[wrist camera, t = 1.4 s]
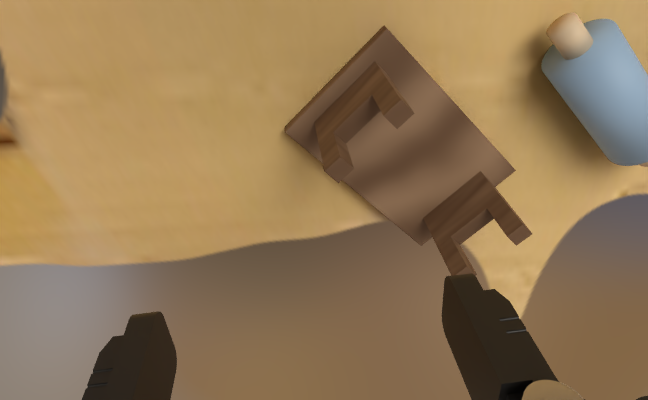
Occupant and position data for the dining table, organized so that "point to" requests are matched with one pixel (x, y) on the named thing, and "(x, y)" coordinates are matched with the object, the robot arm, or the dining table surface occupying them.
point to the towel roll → (601, 85)
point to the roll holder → (408, 150)
